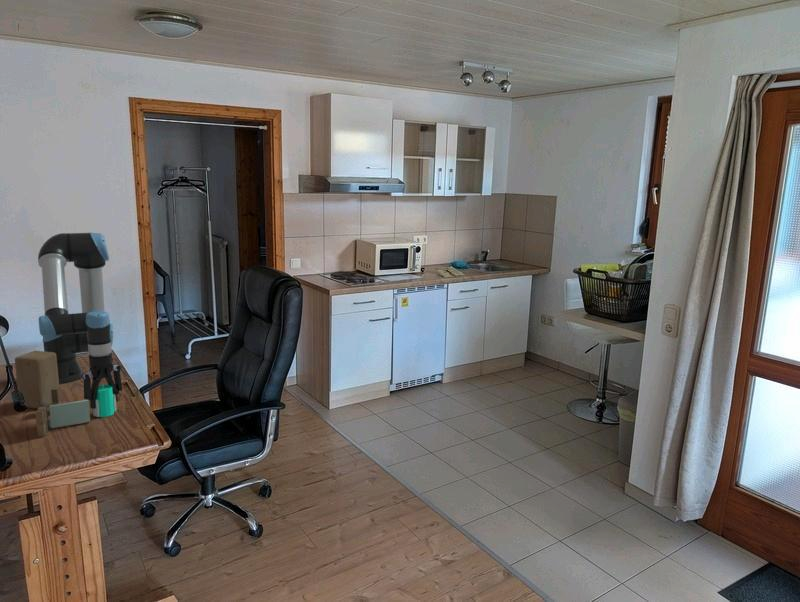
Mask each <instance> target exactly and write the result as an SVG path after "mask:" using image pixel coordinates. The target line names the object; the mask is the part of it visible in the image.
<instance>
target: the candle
mask: <svg viewBox="0 0 800 602" xmlns="http://www.w3.org/2000/svg"><path fill="white" fill-rule="evenodd" d="M96 399H97V400H98V403H99V415H100V417H99V418H107V417H110V416H113V415H114V414H115V411H114V404H113V391H112V386H110V385H108V383H107V384H106V383H104V384H101V385H100V384H99V387H98V392H97V397H96Z"/></svg>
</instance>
